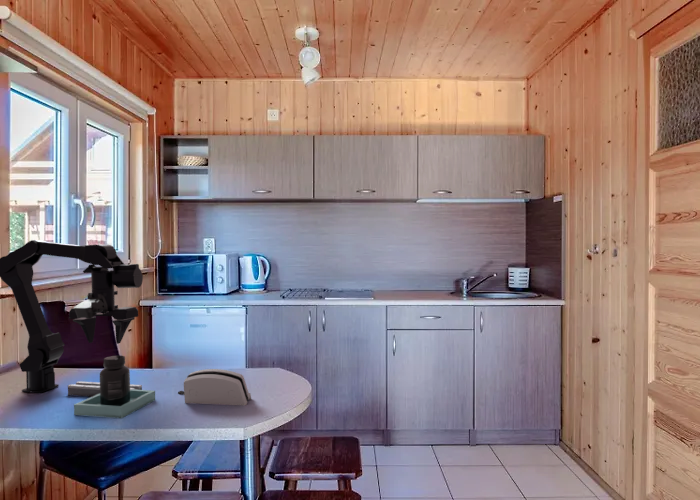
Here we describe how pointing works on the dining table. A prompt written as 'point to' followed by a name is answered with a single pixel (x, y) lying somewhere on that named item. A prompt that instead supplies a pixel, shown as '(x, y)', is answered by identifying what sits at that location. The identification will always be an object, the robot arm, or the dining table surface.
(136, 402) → the tray
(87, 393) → the t-slot rail
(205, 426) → the dining table surface
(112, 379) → the supplement bottle
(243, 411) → the dining table surface
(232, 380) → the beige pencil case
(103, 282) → the robot arm
